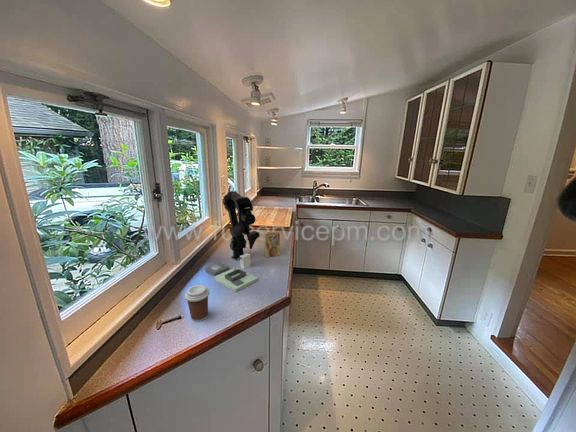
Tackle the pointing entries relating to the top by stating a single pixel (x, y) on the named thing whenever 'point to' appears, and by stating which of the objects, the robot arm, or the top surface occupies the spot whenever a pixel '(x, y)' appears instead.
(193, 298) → the coffee cup
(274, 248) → the candy box
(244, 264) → the plug
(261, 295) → the top surface
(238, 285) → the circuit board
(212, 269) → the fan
